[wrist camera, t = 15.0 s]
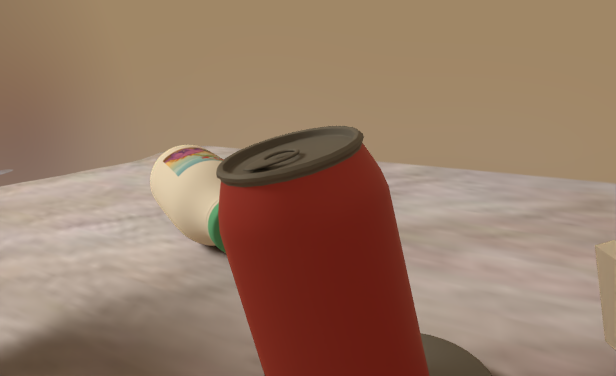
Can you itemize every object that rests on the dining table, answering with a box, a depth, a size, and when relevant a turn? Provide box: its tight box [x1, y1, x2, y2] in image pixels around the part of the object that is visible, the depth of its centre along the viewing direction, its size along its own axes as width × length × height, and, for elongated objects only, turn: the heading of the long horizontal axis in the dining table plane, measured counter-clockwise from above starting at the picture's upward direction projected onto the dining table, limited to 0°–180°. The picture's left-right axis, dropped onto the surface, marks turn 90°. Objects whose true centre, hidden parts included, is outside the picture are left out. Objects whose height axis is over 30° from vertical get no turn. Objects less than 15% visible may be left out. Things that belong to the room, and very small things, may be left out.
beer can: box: [216, 126, 429, 376], centre depth 23 cm, size 7×7×12 cm
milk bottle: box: [150, 145, 226, 253], centre depth 53 cm, size 8×8×20 cm
